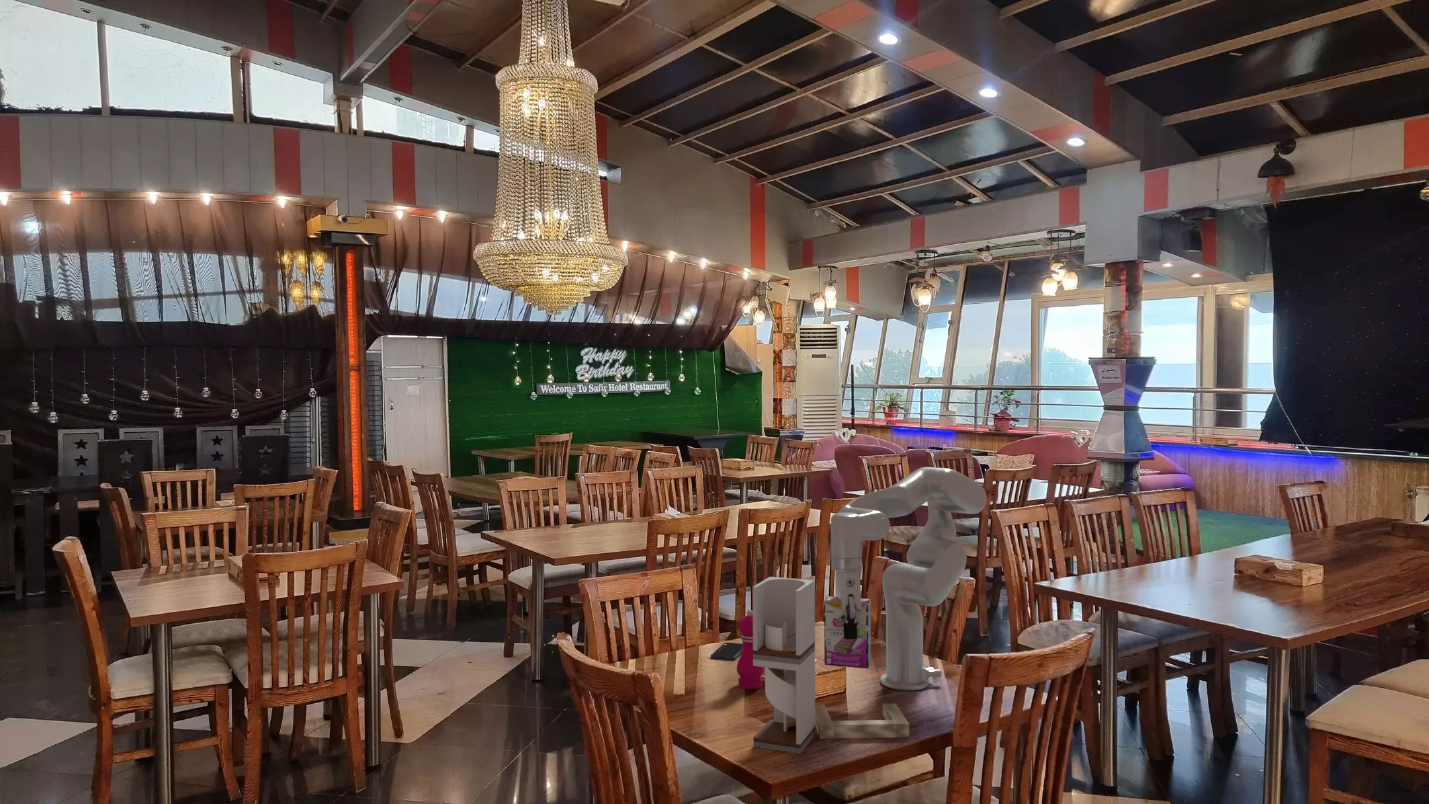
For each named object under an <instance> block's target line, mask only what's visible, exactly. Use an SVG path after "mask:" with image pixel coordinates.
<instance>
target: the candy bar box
mask: <svg viewBox="0 0 1429 804" xmlns="http://www.w3.org/2000/svg"><path fill="white" fill-rule="evenodd" d="M861 605H862V609H861V611H859V610H857V609H856V620H857V639H844V623H845V618H844V611H842V610H841V608H840V602H839V600H838V599H837V597H836V596H826V597H825V599H824V600H823V620H824V621H823V627H824V628H823V629H824V630H823V632H824V633H823V637H824V641H823V643H824V645H823V647H824V655H823V656H824V659H823V660H824V666H830V667H831V666H832V667H842V668H843V667H845V668H857V669H870V665H871V663H872V640H871V639H872V637H871V636H872V629H871V628H872V626H871V625H872V624H871V623H872V622H871V621H872V620H871V619H872V617H871V616H872V614H871V609H872V608H871V607H872V606H871V605H872V603H871V599H869V598H861ZM855 608H856V605H855ZM846 610H849V608H846ZM848 614H849V613H847V615H848Z"/></svg>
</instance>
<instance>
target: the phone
mask: <svg viewBox="0 0 1429 804" xmlns="http://www.w3.org/2000/svg"><path fill="white" fill-rule="evenodd" d="M724 644H727V645H724ZM742 650H743V643H738V642H724V643H723V644H721V645H720V646H719V647H717V649H716V650H715V651H713V653H711V654H710V659H712V660H719V661H720V660H722V661H728V662H729V661H731V662H733V661H734V662H735V661H736V660H739V658H740V656H741V654H742Z"/></svg>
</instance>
